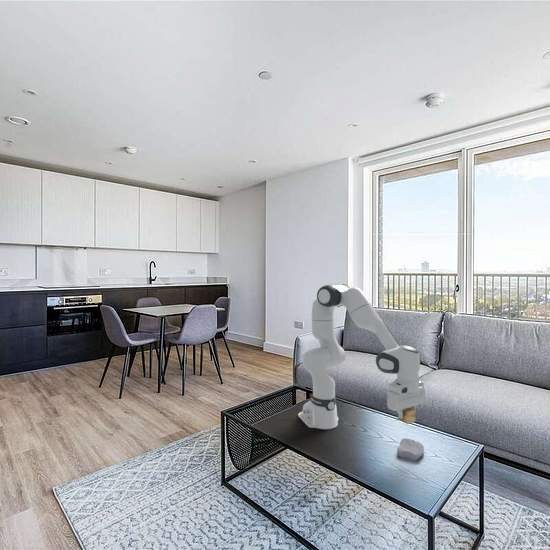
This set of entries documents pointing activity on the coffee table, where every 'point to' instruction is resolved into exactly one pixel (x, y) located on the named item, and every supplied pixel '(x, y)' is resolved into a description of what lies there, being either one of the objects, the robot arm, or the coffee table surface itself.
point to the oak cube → (408, 415)
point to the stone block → (410, 449)
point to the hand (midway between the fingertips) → (406, 416)
